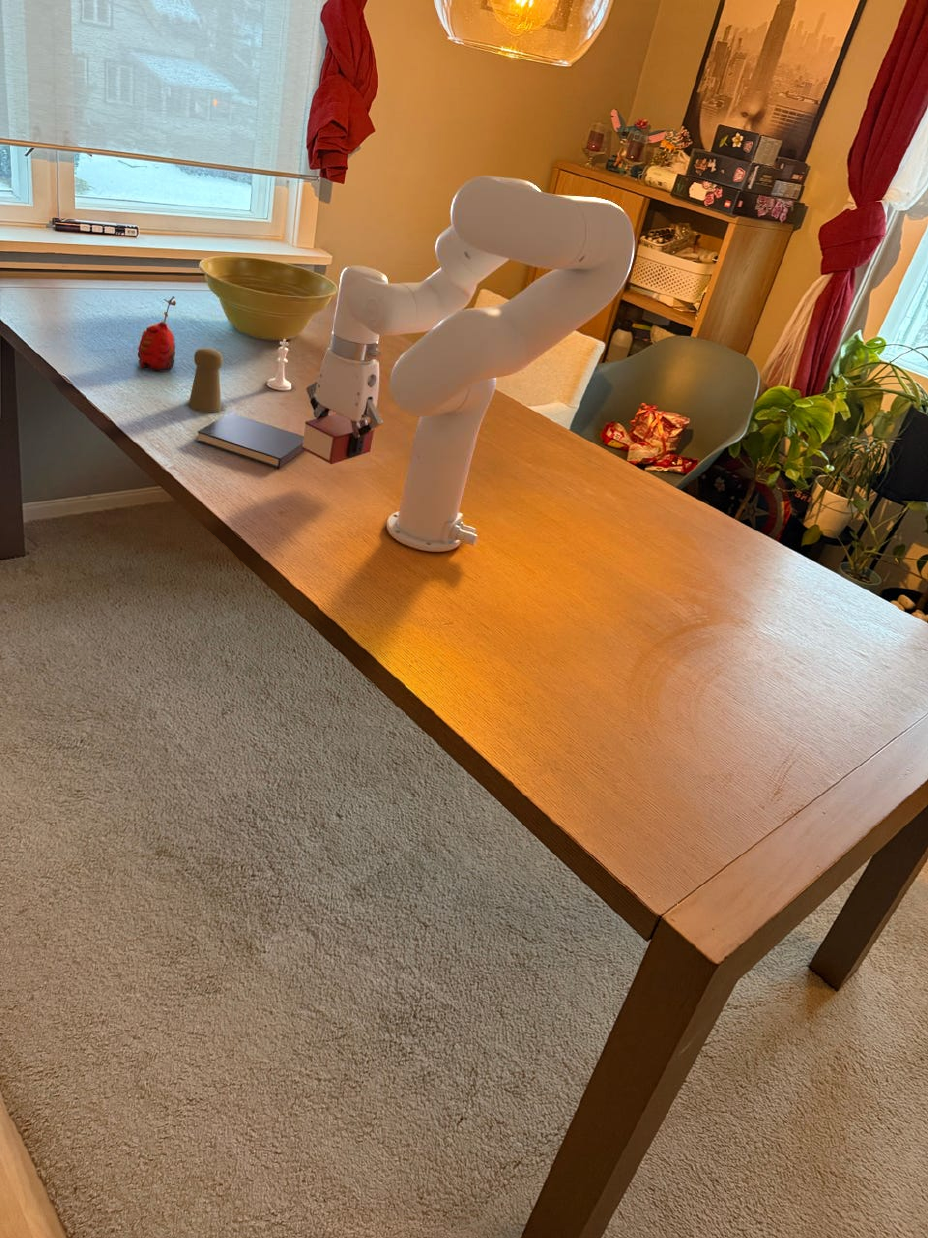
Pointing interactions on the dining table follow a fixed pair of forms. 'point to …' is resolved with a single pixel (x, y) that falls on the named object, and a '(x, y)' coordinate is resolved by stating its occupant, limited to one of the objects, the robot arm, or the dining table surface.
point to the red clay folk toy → (157, 346)
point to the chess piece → (280, 371)
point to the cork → (206, 381)
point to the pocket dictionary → (331, 438)
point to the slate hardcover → (252, 440)
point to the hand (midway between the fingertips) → (336, 446)
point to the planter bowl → (266, 294)
